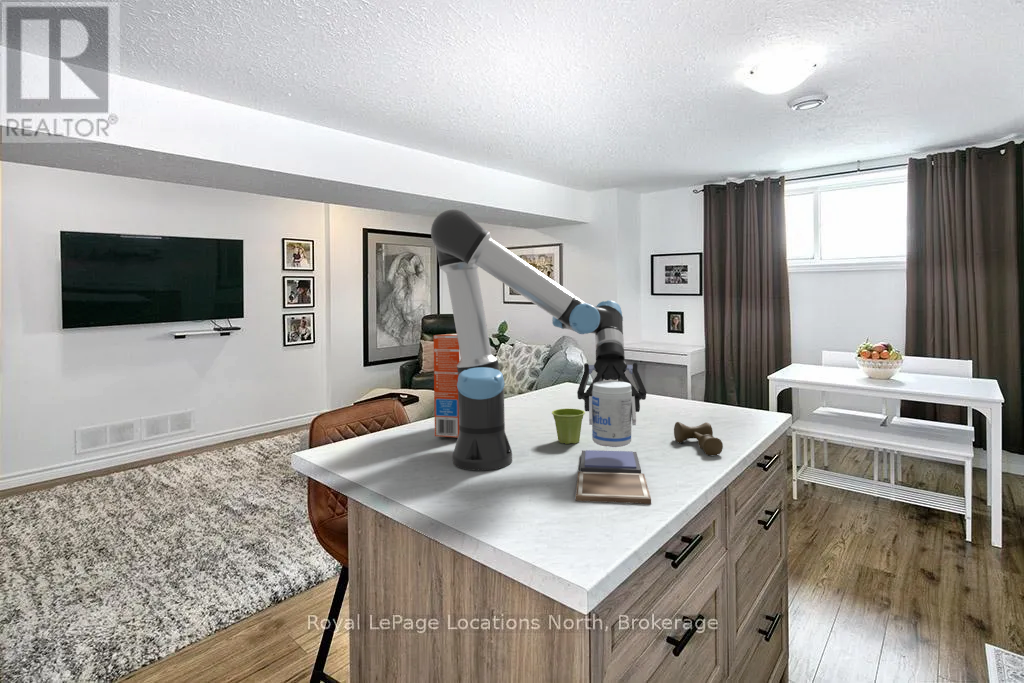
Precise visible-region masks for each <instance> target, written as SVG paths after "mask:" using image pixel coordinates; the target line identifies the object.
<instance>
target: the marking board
mask: <svg viewBox="0 0 1024 683" xmlns="http://www.w3.org/2000/svg"><path fill="white" fill-rule="evenodd" d="M646 479H647V478H646V476H645V473H641V474H640V473H610V472H580V471H577V478H576V489H575V501H576V502H593V503H595V502H597V503H598V502H599V503H622V504H643V503H644V505H645V504H646V505H652V497H651V494H650V491H649V487H648V483H647V482H648V481H647V480H646Z"/></svg>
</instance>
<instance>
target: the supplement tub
mask: <svg viewBox="0 0 1024 683" xmlns="http://www.w3.org/2000/svg"><path fill="white" fill-rule="evenodd" d="M631 384H632V383H631ZM631 384H630V383H627V382H621V381H618V380H603V381H601V382H596V383H594V384H593V391H592V423H593V425H591V427H592V428H591V429H592V431H591V433H592V434H591V437H592V438H591V439H592V441H593V442H594V444H596V445H598V446H603V447H609V448H619V447H620V448H621V447H625V446H628V445H629V444H630V443H631V442H632V392H631V391H632V390H631Z"/></svg>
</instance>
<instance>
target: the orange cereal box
mask: <svg viewBox="0 0 1024 683" xmlns="http://www.w3.org/2000/svg"><path fill="white" fill-rule="evenodd" d="M460 360H461V356H460V350H459V344H458V338H457V333H446V334H435V335H434V334H433V394H434V395H433V396H434V397H433V399H434V400H433V402H434V404H433V405H434V409H433V410H434V437H440V438H441V437H444V438H457V439H458V435H459V406H458V388H457V382H458V370H457V364H458V363H459V361H460Z"/></svg>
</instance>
